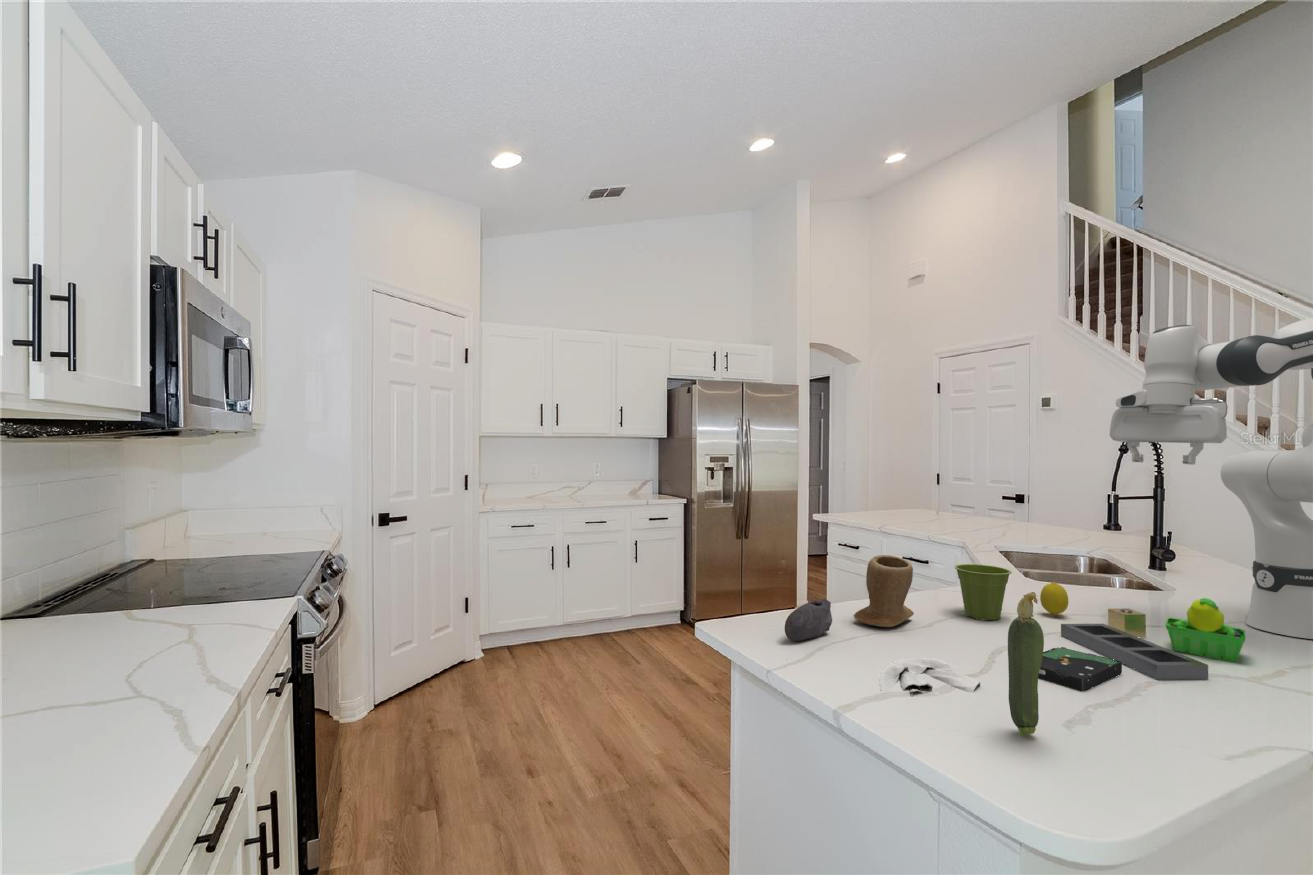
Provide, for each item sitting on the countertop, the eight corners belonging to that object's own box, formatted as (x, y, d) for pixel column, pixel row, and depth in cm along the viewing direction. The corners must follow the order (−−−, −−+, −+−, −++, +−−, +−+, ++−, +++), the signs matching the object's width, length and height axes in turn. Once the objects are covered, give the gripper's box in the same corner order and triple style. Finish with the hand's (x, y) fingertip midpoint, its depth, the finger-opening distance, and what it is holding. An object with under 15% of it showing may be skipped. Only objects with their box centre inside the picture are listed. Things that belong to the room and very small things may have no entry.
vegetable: (1001, 726, 87) (1000, 586, 88) (1029, 725, 88) (1029, 586, 88) (1022, 741, 83) (1021, 594, 83) (1052, 740, 83) (1051, 593, 84)
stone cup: (898, 635, 129) (898, 564, 129) (847, 623, 137) (846, 557, 138) (928, 621, 139) (928, 555, 140) (878, 611, 148) (878, 548, 148)
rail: (1102, 635, 129) (1102, 623, 129) (1208, 679, 105) (1208, 664, 105) (1060, 635, 129) (1060, 623, 129) (1156, 679, 105) (1156, 665, 105)
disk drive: (1085, 696, 99) (1123, 676, 108) (1084, 679, 100) (1122, 660, 108) (1018, 676, 108) (1058, 659, 116) (1018, 660, 108) (1058, 644, 116)
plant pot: (1023, 624, 137) (1022, 573, 137) (969, 624, 137) (969, 573, 137) (994, 609, 149) (994, 563, 149) (945, 609, 149) (945, 563, 149)
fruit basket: (1245, 655, 117) (1244, 596, 117) (1246, 668, 110) (1246, 605, 111) (1167, 642, 125) (1167, 586, 125) (1164, 653, 118) (1164, 594, 118)
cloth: (941, 659, 117) (941, 646, 117) (1029, 708, 95) (1029, 692, 95) (841, 666, 113) (841, 652, 113) (909, 718, 92) (909, 702, 92)
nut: (1128, 631, 132) (1128, 607, 132) (1145, 638, 127) (1145, 613, 127) (1108, 631, 132) (1108, 607, 132) (1124, 638, 127) (1124, 613, 127)
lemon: (1073, 620, 140) (1072, 585, 140) (1046, 618, 141) (1046, 584, 141) (1062, 613, 146) (1061, 579, 146) (1036, 612, 147) (1036, 578, 147)
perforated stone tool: (795, 648, 121) (795, 613, 121) (774, 641, 125) (774, 607, 125) (839, 633, 131) (839, 600, 131) (818, 627, 135) (818, 595, 135)
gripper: (1236, 399, 124) (1231, 467, 124) (1124, 403, 143) (1119, 462, 142) (1220, 394, 122) (1214, 464, 121) (1108, 399, 140) (1103, 459, 140)
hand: (1162, 463), depth 132 cm, fingers open, 8 cm apart
